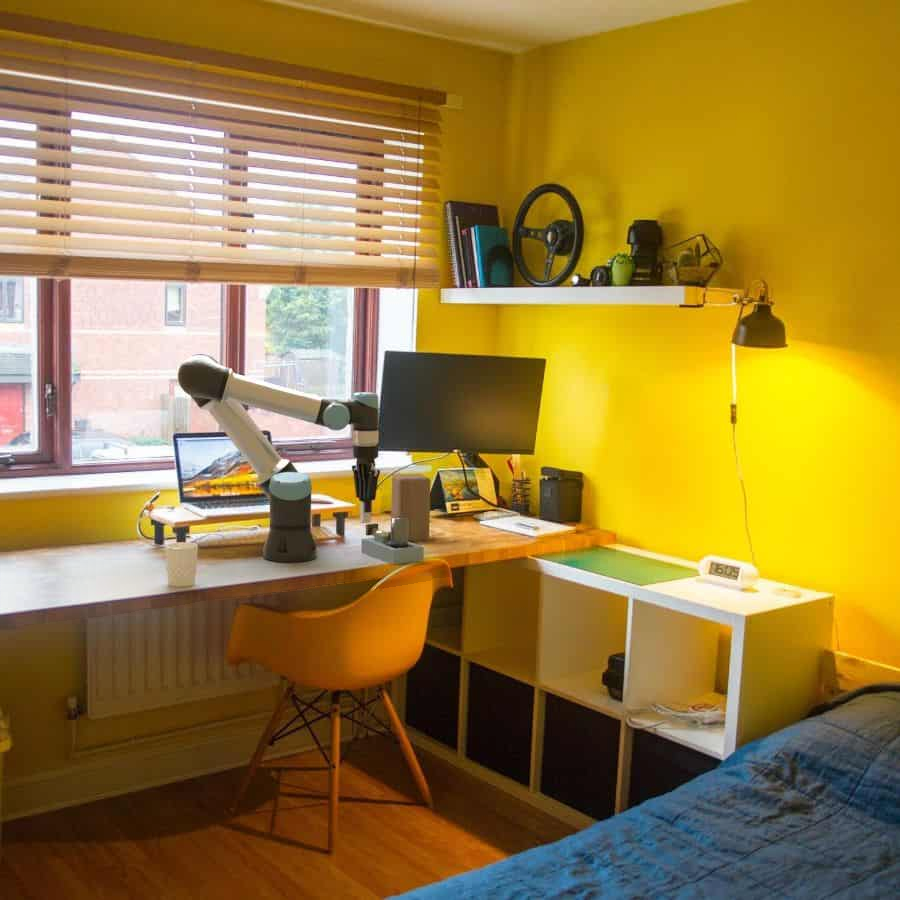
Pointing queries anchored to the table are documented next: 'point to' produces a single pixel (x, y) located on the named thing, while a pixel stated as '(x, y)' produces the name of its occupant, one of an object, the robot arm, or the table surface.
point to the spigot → (399, 532)
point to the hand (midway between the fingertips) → (365, 522)
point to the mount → (391, 550)
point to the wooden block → (412, 503)
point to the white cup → (181, 563)
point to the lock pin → (375, 530)
